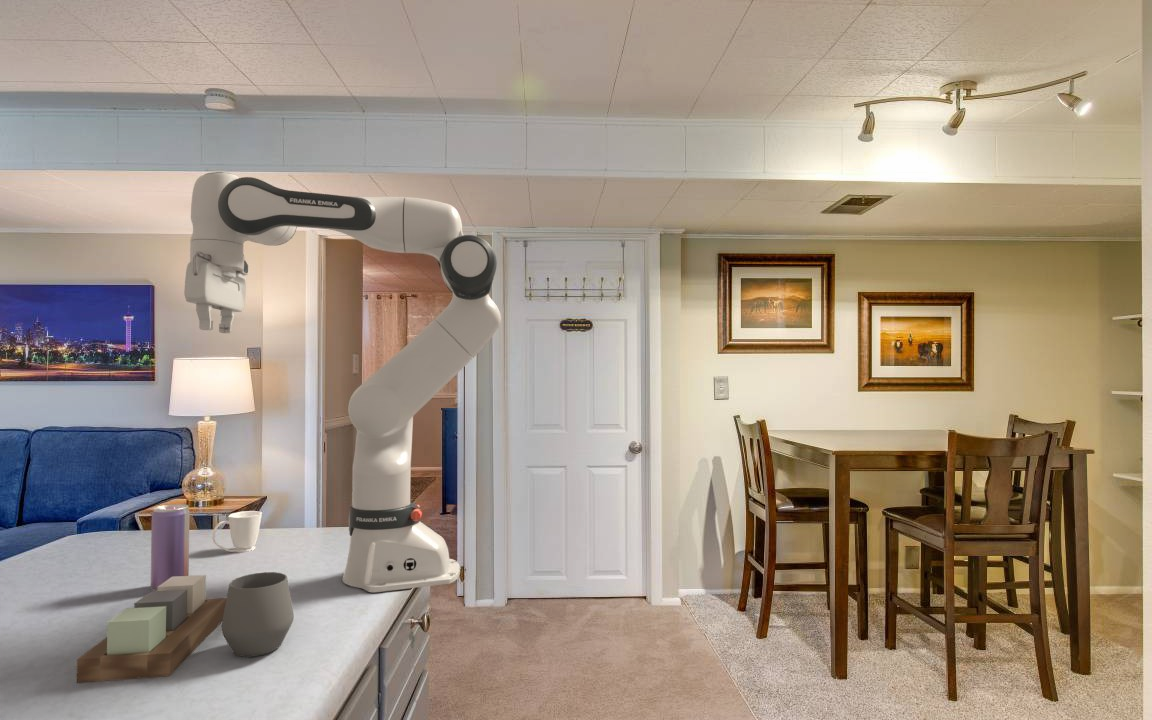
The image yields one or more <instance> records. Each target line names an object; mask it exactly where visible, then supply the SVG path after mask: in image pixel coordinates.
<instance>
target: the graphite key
mask: <svg viewBox="0 0 1152 720" xmlns="http://www.w3.org/2000/svg"><path fill="white" fill-rule="evenodd" d="M133 605H134V607H133V608H144V607H162V606H166V632H168V631H174V630H175V629H176V628H177V627H178V626H179V625H180V624H181V623H183V622H184V621H185V620H186V619H187V590H168V591H153V590H152V591H149V592H148V593H147V594H145V595H143V596H142V597H141V598H140V599H138V600H137V601H135V602H134V604H133Z"/></svg>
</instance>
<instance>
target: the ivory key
mask: <svg viewBox="0 0 1152 720" xmlns="http://www.w3.org/2000/svg"><path fill="white" fill-rule="evenodd" d="M206 579H207V578H206V574H201V575H197V574H196V575H189V576H174V577H171V578H169V579H168V580H167V581H165V582H164V583H162V584H161V585H160V586H158V588H157V591H168V590H187V613H194V612H195V611H196V610H197V609H198V608H199V607H200V606H201V605H203V604H204V603H205V599H206V586H207V585H206V582H207V581H206Z"/></svg>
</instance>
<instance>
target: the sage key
mask: <svg viewBox="0 0 1152 720" xmlns="http://www.w3.org/2000/svg"><path fill="white" fill-rule="evenodd" d="M106 624H107V626H106V627H107V628H106V632H107V633H106V634H107V636H106V637H107V655H117V654H132V653H147V652H150V651H151V650H152V649H154V648H155V647H156V646H157V645H158V644H159V643H160V642H161V641H162V640H164V639H165V638H166V606H162V607H144V608H134V607H132V608H131V607H129V608H126V609H124V610H123V611H121V612H120V613H119V614H117V615H115V616H114V617H113V618H111V619H110V620H109V621H107V623H106Z"/></svg>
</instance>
